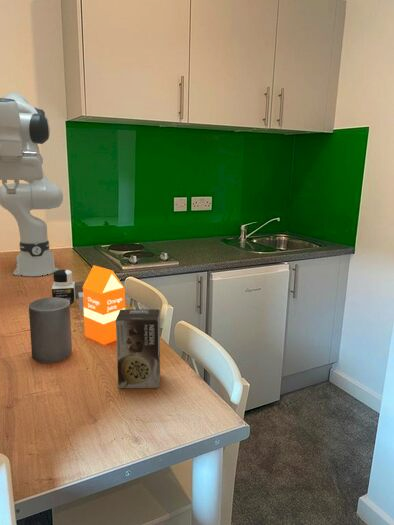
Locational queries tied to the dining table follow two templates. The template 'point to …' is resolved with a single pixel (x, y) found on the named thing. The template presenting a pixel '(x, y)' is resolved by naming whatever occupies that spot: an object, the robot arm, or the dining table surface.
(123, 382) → the coffee box
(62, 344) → the pillar candle
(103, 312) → the orange juice
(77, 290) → the walnut block
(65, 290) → the medicine bottle
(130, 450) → the dining table surface
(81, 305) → the grey painted block
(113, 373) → the dining table surface
